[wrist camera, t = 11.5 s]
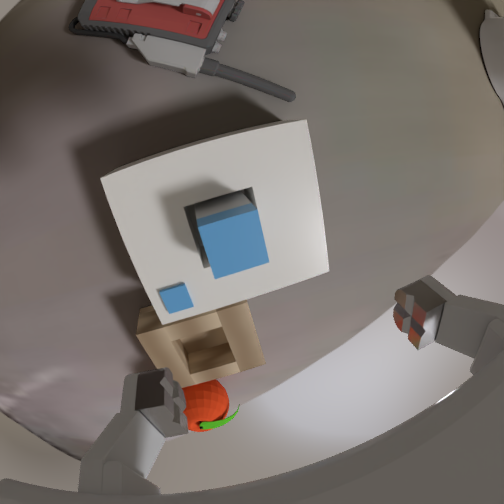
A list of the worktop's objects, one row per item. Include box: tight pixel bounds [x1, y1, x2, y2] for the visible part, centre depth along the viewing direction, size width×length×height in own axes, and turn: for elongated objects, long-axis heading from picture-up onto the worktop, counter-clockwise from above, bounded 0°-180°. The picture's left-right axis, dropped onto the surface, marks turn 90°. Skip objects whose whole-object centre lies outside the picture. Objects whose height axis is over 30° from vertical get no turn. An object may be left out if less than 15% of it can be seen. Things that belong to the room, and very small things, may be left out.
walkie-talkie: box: [69, 0, 296, 102], centre depth 15 cm, size 9×4×20 cm
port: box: [100, 120, 329, 325], centre depth 22 cm, size 14×12×5 cm
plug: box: [194, 190, 269, 279], centre depth 20 cm, size 4×4×7 cm
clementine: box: [182, 379, 240, 432], centre depth 29 cm, size 8×7×7 cm
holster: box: [136, 300, 266, 388], centre depth 27 cm, size 10×8×4 cm
